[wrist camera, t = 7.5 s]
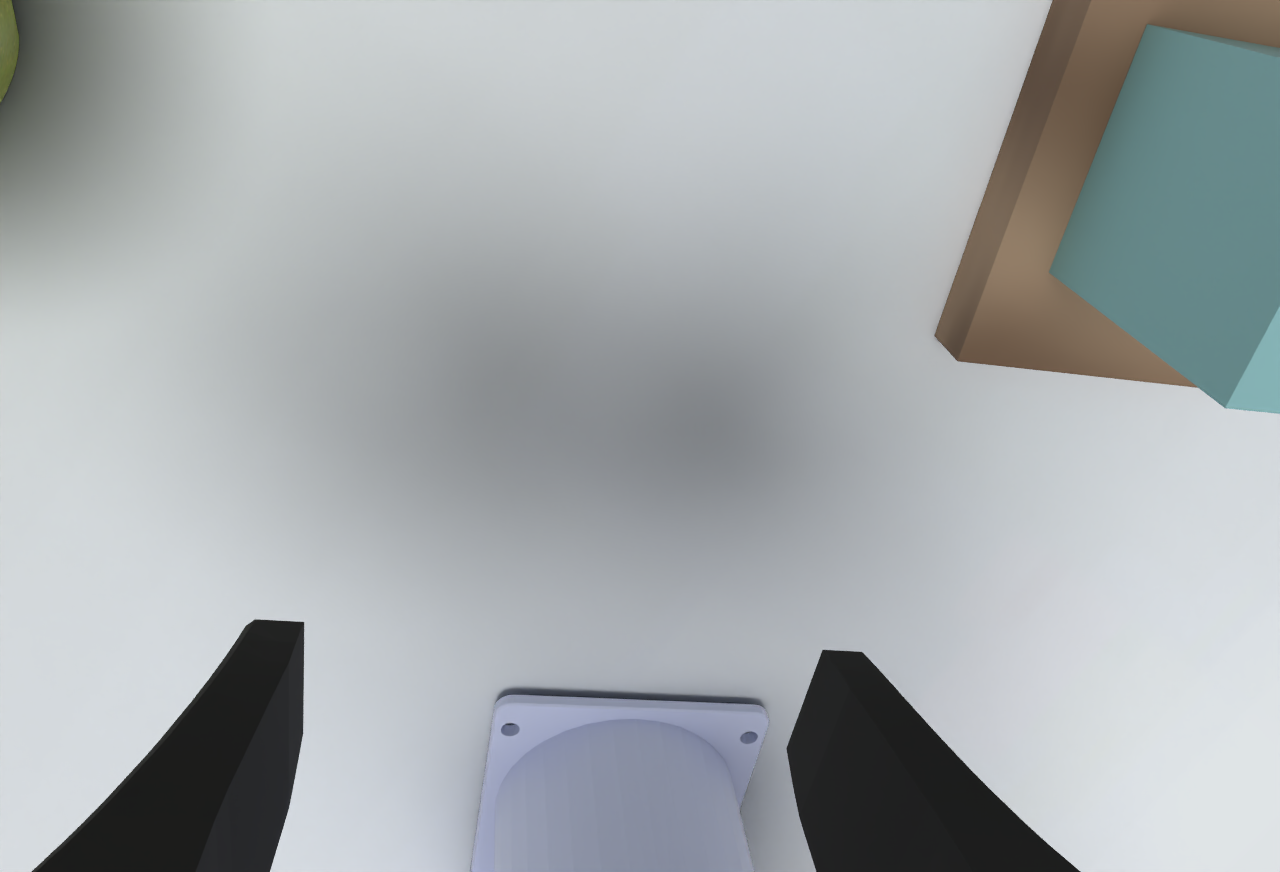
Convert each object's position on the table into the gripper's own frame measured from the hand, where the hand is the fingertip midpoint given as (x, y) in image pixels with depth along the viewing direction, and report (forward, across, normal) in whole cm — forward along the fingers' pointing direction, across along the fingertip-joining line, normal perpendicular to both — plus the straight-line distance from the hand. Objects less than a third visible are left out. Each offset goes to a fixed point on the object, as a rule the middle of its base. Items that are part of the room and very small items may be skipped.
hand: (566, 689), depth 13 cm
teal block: (+9, -13, -7) cm, 17 cm away
